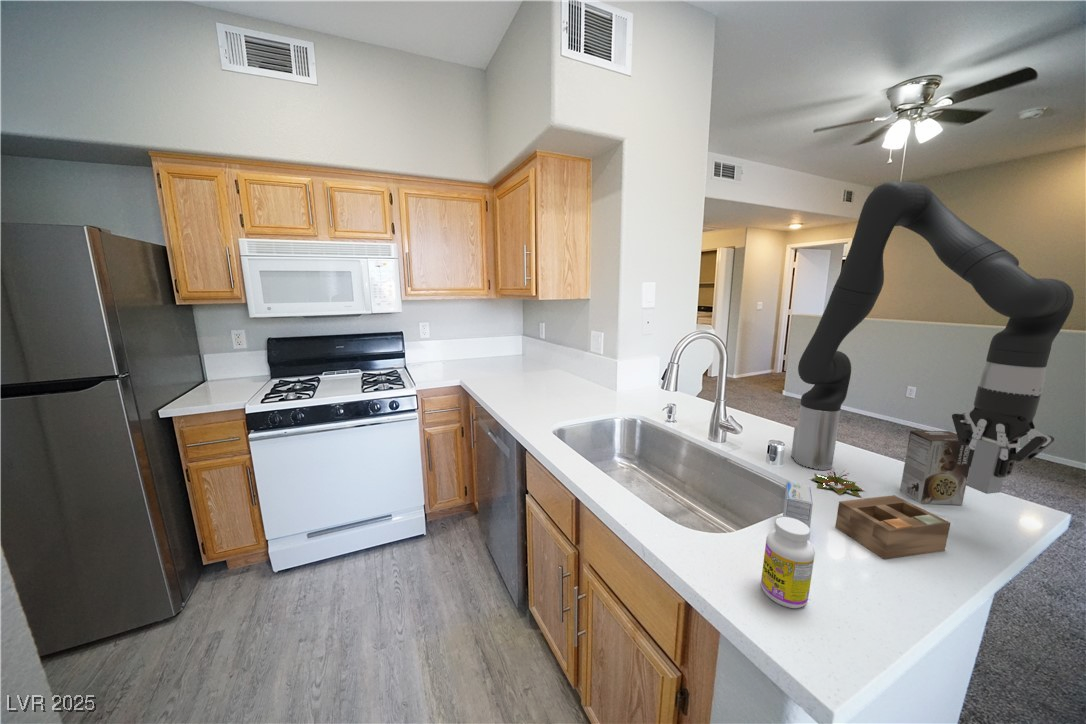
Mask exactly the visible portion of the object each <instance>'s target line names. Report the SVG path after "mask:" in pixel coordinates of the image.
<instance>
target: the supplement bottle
mask: <svg viewBox="0 0 1086 724" xmlns="http://www.w3.org/2000/svg"><path fill="white" fill-rule="evenodd" d="M810 537H811V528H810V529H809V527H808V526H807V525H806V524H805V523H803V522H801V521H799V520H797V519H794V518H790V517H783V516H779V517H777V518H776V519H775V521H774V529H773V530H771V531H770V532H768V533H767V535H766V538H765V539H766V540H765V548H764V555H763V564H762V572H761V580H760V585H761V589H762V591H763V593H765V595H766V596H767V597H768V598H770V599H771V601H773V602H775V603H777V604H778V605H781V606H783V607H786V608H790V609H791V608H792V609H800V608H803V607H804V606H806V605H807V603H808V601H809V596H810V591H811V590H810V587H811V582H812V574H813V568H814V561H815V557H816V556H815V555H816V550H815V547H814V546H813V544H812V542H811V541H810V540H808V539H810Z"/></svg>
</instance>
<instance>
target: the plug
mask: <svg viewBox="0 0 1086 724" xmlns="http://www.w3.org/2000/svg"><path fill="white" fill-rule="evenodd" d="M999 451H1000V447H999V446H997V439H995V438H993V437H982V440H978V439H977V442H976V447H975V451H974V455H973V459H972V463H971V467H970V468H969V473H968V478H967V483H966V487H969V488H971V489H972V490H973V489H974V490H976V491H978V492H981V493H984V494H987V495H989V494H990V495H991V494H996V493H997V494H999V493H1001V490H1002V485H1003V481H1004V478H1005V477H1001V478H998V477H996V476H994V472H995V468H996V464H997V460H998V459H999V458H1000V457H999Z"/></svg>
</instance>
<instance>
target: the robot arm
mask: <svg viewBox="0 0 1086 724" xmlns="http://www.w3.org/2000/svg"><path fill="white" fill-rule="evenodd" d="M895 227H903V228H905V229H908V230H910V231H911V232H914V233H915V234H917V235H919V236H920V237H922V238H923V239H924V240H925V241H927V243H928V244H929V245H930V246H931V248H932V249H933V250H932V251H934V253H935V255H936V257H938V259H939V260H940V262H941V263H942V264H944V266H946V267H947V268H948V269H950V271H952V272H954V273H955V274H956V275H957V276H958V277H960V278H961V279H962V280H964V281H965V282H967V283H969V284H970V285H971V286H972V287H973V289H974V291H975V292H976V293H977V295H978V296H979V297H980V298H981V299H982V300H983V302H984V303H985V304H986V305H987V306H988V307H990V308H991V309H992V310H993V311H995V312H996V313H999V314H1000V315H1001V316H1004V317H1007V318H1009V319H1008V322H1007V324H1006V326H1005V328H1003V330H1001V331H998V332H997V333H996V334H995V335H993V336H992V339H991V341H990V344H989V348H988V351H987V355H986V360H985V364H984V365H983V368H982V369H981V372H980V376H979V379H978V380H979V381H978V385H977V388H976V393H975V397H974V402H973V406H974V408H973V409H972V410H971V411H970V412H969V413H966V412H961V413H952V414H951V418H952V419H951V420H952V423H953V426H954V429H955V433H956V434H957V436H958V440H959V442H961V443H965V444H966V445H968V446H969V448H970V450H969V455H968V459H967V462H968V463H969V467H971V463H972V459H973V455H974V451H975V447H976V442H977V439H978V440H982V437H993V438H995V439H997V446H999V447H1000V451H999V457H1000V458H999V459H998V460H997V464H996V468H995V472H994V476H996V477H998V478H1001V477H1004V478H1005V477H1008V476H1010V475H1011V474H1012V472H1013V469H1014V465H1015V462H1024V461H1031V460H1033V459H1034V458H1035V457H1036V456H1038V455H1039V454H1040V453H1041V452H1042V451H1044V450H1045V449H1046V448H1047V447H1048V446H1050V445H1051V444H1052V443H1053V442H1055V437H1053V436H1052V435H1049V434H1048V435H1045V434H1044V433H1042V432H1040V431H1038V430H1037V429H1035V428H1036V427H1035V424H1034V418H1035V416H1036V414H1037V411H1038V408H1039V404H1040V399H1041V395H1042V393H1043V391H1044V389H1045V388H1044V385H1045V381H1046V369H1047V365H1048V362H1049V357H1050V354H1051V351H1052V345H1053V342H1054V341H1055V339H1056V337H1057V336H1058V334H1059V333H1060V332H1061V329H1062V328H1063V327H1064V324H1065V323H1066V321H1067V319H1068V318H1069V315H1070V314H1071V311H1072V310H1073V306H1074V301H1075V295H1074V291H1073V288H1072V287H1071V286H1070V285H1069V284H1068V283H1066V282H1065V281H1063V280H1060V279H1055V278H1036V277H1034V276H1032V275H1031V274H1029V273H1028V272H1026V271H1025V270H1024V269H1023V268H1021V267H1020V262H1019V261H1020V260H1019V259H1018V258H1017V257H1016V256H1015V255H1014V254H1013V253H1011V252H1010V251H1008V250H1006V249H1005V248H1004V247H1003V246H1001V245H999V244H998V243H996V242H995V241H993V240H991V239H990V238H988V237H987V236H985V235H983V234H982V233H981V232H979V231H978V230H976V229H974V228H973V227H972V226H970V225H969V224H967V223H966V222H965V221H964V220H962V219H961V218H960V217H959V216H957V215H956V214H955V212H953V211H952V210H951V209H949V208H948V207H947V205H946V204H944V202H943V201H942V200H941V199H940V198H939V197H938V196H937V195H936V194H935V193H934V192H933V191H932V190H931V189H930V188H929V187H928V186H927V185H925V184H923V183H920V182H919V183H918V182H911V181H910V182H909V181H899V180H898V181H895V180H893V181H892V180H891V181H887V182H886V181H885V182H883V183H881V184H879V185H878V186H877V187H875V188H874V189H872V191H871V192H870V193H869V194H868V196H867V198H866V199H865V201H864V203H863V205H862V208H861V212H860V215H859V218H858V222H857V224H856V229H855V231H854V235H853V238H852V241H851V244H850V248H849V250H848V252H847V255H846V257H845V261H844V263H843V265H842V268H841V271H840V273H839V276H838V277H837V280H836V281H835V284H834V286H833V288H832V291H831V293H830V295H829V299H828V302H827V304H826V307H825V308H824V311H823V313H822V316H821V317H820V320H819V322H818V325H817V326H816V329H815V332H814V334H813V335H812V337H811V339H810V340H809V342H808V344H807V346H806V347H805V349H804V351H803V353H802V355H801V357H800V359H799V362H798V365H797V372H798V377H799V378H800V379H801V380H802V382H804V383H806V384H808V385H813V387H811V389H810V390H808V391H806V392H805V393H803V394H801V398H800V404H799V405H800V406H799V412H798V423H797V426H795V427H794V429H793V439H792V445H791V454H790V457H791V456H792V457H793V458H794V459H793V458H792V457H791V458H792V459H793V460H795V461H796V462H795V461H794V462H795V463H797V464H798V463H799V464H798V465H800V464H802V465H804V466H803V467H805V466H806V467H805V468H808V467H810V468H809V469H812V468H814V469H813V470H818V469H819V470H820V471H827V470H832V468H833V463H834V458H835V457H834V455H835V451H836V444H837V437H838V430H839V429H838V428H839V422H840V415H841V408H842V404H843V403H844V401H845V400H846V398H847V395H848V390H849V386H850V382H851V381H850V380H851V374H852V363H851V360H850V358H849V357H848V355H846V353H844V352H843V351H839V350H838V348H839V347H840V345H841V344H842V342H843V340H845V338H846V337H847V336H848V335H849V334H850V333H851V332H852V331H853V330H854V329H855V328H856V327H858V326H859V324H861V323H862V322H863V321H864V320H865V318H866V317H868V315H869V314H870V313H871V312H872V310H873V308H874V306H875V304H876V302H877V300H878V298H879V296H880V293H881V292H882V289H883V286H884V282H885V273H884V272H885V268H884V253H885V249H886V246H887V243H888V241H889V238H890V236H891V234H892V233H893V231H894V228H895ZM972 423H973V425H974V426H975V430H974V431H973V426H972ZM1027 435H1028V436H1027ZM1025 436H1027V438H1026V440H1027V443H1026V444H1025V445H1024V446H1022V448H1020V446H1021V438H1023V437H1025ZM1019 448H1020V449H1019ZM802 465H801V466H802Z"/></svg>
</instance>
